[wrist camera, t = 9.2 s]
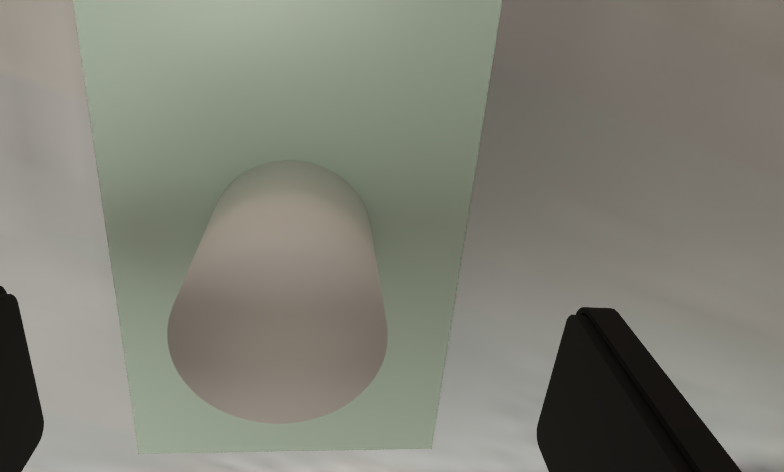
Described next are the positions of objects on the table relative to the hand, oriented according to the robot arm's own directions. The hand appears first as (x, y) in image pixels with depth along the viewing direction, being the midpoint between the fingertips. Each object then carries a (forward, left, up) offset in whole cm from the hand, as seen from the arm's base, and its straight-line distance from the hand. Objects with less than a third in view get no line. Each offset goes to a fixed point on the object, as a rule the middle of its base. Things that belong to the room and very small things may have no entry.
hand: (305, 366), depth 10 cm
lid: (0, 0, -6) cm, 6 cm away
